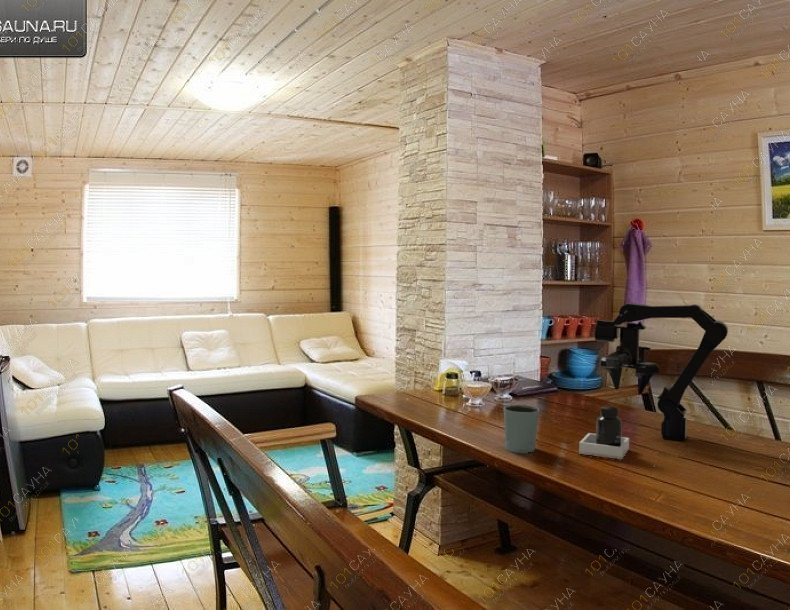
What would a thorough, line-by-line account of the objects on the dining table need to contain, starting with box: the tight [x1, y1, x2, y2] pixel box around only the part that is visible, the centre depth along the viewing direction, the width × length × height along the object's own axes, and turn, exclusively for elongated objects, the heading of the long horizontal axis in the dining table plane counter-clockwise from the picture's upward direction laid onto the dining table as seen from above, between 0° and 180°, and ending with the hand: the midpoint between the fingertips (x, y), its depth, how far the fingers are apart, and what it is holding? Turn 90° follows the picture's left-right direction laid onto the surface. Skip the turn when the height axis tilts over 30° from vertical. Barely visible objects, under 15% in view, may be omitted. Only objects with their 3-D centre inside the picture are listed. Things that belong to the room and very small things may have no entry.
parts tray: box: [578, 432, 630, 460], centre depth 191 cm, size 12×12×4 cm
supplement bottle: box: [595, 406, 623, 447], centre depth 190 cm, size 7×7×12 cm
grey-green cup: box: [503, 404, 540, 454], centre depth 194 cm, size 10×10×12 cm
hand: (628, 391), depth 212 cm, fingers open, 9 cm apart
